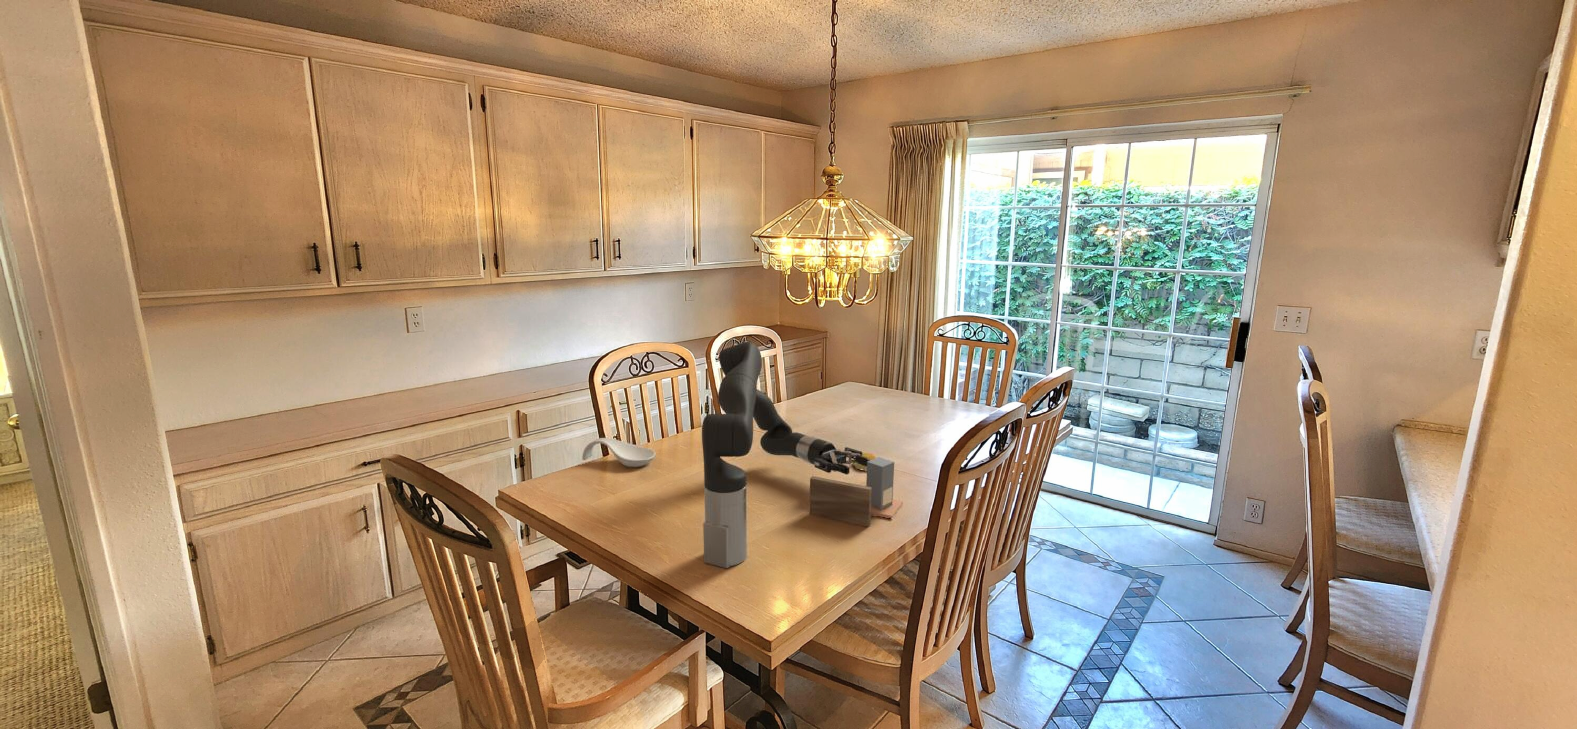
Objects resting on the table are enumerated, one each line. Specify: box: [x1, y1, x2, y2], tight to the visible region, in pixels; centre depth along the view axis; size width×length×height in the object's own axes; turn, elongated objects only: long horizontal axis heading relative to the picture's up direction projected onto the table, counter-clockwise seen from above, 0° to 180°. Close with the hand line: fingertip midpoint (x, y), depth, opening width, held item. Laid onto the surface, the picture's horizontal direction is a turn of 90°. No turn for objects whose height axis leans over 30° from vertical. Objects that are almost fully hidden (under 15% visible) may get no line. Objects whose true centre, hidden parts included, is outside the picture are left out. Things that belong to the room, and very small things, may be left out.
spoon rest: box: [581, 437, 656, 468], centre depth 201 cm, size 24×12×7 cm, turn 76°
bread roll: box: [852, 452, 877, 470], centre depth 200 cm, size 8×9×4 cm
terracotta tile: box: [871, 499, 904, 519], centre depth 170 cm, size 10×10×1 cm
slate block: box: [865, 456, 895, 510], centre depth 169 cm, size 5×5×12 cm
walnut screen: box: [808, 475, 872, 528], centre depth 163 cm, size 2×16×10 cm, turn 64°
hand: (859, 466), depth 173 cm, fingers open, 8 cm apart
